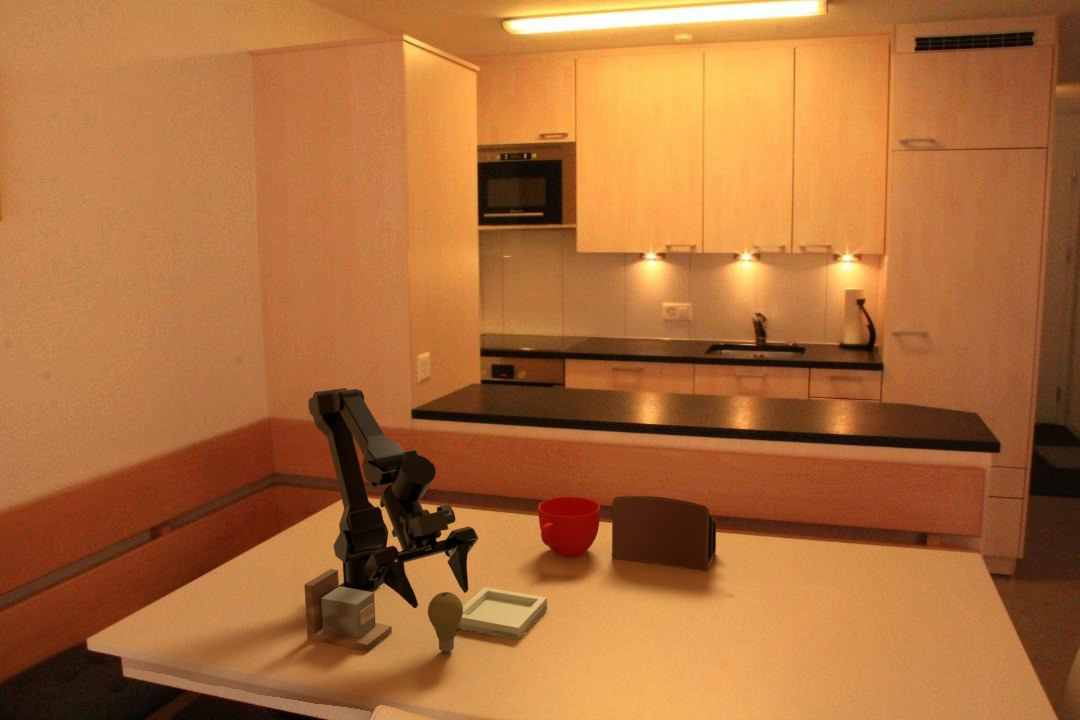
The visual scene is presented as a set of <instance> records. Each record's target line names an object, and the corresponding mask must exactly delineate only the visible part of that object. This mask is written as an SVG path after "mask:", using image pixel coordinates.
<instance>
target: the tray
mask: <svg viewBox="0 0 1080 720" xmlns="http://www.w3.org/2000/svg"><path fill="white" fill-rule="evenodd" d="M462 606H463V614H462V618H461V620H460V623H459V625H458V627H457V628H461V629H460V630H462V629H465V630H464V631H467V630H472V631H476V632H475V633H478V632H480V633H479V634H483V633H485V634H484V635H488V634H489V636H493V635H495V636H494V637H499V636H500V638H504V637H506V639H509V638H510V639H511V640H515V641H520V640H521V638H522V637H523V636H525V634H526V633H527V632H528V631H529V630H530V629H531V627H532V626H533V625H534V624H535V623H536V622H537V621H538V620H539V619H540V618H541V617H542V616H543V614H544V613H545V612H546V611H547V610H548V597H547V596H540V595H534V594H527V593H522V592H516V591H509V590H504V589H498V588H493V587H492V588H491V587H483V588H482V589H481V590H480V591H478V593H477V594H475V595H474V596H473V597H472V598H471V599H469V601H467V602H465V604H464V605H462ZM546 609H547V610H546ZM545 610H546V611H545ZM544 611H545V612H544ZM543 612H544V613H543ZM542 613H543V614H542ZM540 616H541V617H540ZM539 617H540V618H539ZM538 618H539V619H538ZM537 619H538V620H537ZM536 620H537V621H536ZM535 621H536V622H535ZM534 622H535V623H534ZM533 623H534V624H533ZM532 624H533V625H532ZM530 626H531V627H530ZM529 628H530V629H529ZM528 629H529V630H528ZM527 630H528V631H527ZM472 631H471V632H472ZM526 631H527V632H526ZM525 632H526V633H525ZM524 633H525V634H524ZM519 639H520V640H519Z"/></svg>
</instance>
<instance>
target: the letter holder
mask: <svg viewBox="0 0 1080 720" xmlns="http://www.w3.org/2000/svg"><path fill="white" fill-rule="evenodd" d="M611 503H612V504H611V505H612V506H611V507H612V509H611V510H612V511H611V512H612V513H611V514H612V516H611V517H612V518H611V519H612V520H611V522H612V524H611V525H612V528H611V529H612V530H611V559H613V560H621V561H628V562H637V563H644V564H652V565H660V566H666V567H672V568H673V567H674V568H682V569H687V570H695V571H696V570H697V571H704V572H708V570H709V569H710V567H711V564H712V562H713V559H714V558H715V555H716V553H717V550H716V549H717V522H716V519H715V518H714V517H713V516H712V514H710V509H709V508H708V507H707V506H706V505H703V504H701V503H696V502H692V501H688V500H682V499H677V498H676V499H675V498H668V497H664V496H663V497H662V496H654V495H653V496H652V495H651V496H650V495H627V496H626V495H623V496H615V497H614V498H613V500H612V502H611Z"/></svg>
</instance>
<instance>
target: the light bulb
mask: <svg viewBox="0 0 1080 720" xmlns="http://www.w3.org/2000/svg"><path fill="white" fill-rule="evenodd" d="M463 606H464V605H463V603H462V601H461V599H460V598H459V597H458V596H457V595H456V594H454V593H452V592H449V591H444V592H440V593H437V594H436V595H435V596H433V597H432V598H431V600H430V602H429V604H428V606H427V617H428V619H429V621H430V623H431V625H432V627H433V628H434V631H435V633H436V638H437V639H438V650H439V651H441V652H442V653H444V654H449V653H451V651H453V650H455V649H454V648H455V637H456V635H457V630H458V629H457V627H458V625H459V623H460V620H461V618H462V614H463Z"/></svg>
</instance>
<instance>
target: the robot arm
mask: <svg viewBox="0 0 1080 720" xmlns="http://www.w3.org/2000/svg"><path fill="white" fill-rule="evenodd" d="M307 406H308V410H309V413H310V414H309V415H311V416H312V418H313V421H314V425H315V426H316V428H317V429H318V430H319V431H320V432H321V433H322V434H324V436H326V438H327V442H328V447H329V451H330V455H331V460H332V463H333V467H334V471H335V472H334V473H335V476H336V481H337V484H338V489H339V493H340V496H341V497H340V498H341V501H342V505H343V512H342V515H341V517H340V520H339V524H338V527H339V534H338V535H337V538H336V540H335V542H334V543H333V550H334V551H333V552H334V556H335V557H336V558H338V559H339V560H340V561H341V562H342V574H343V582H342V583H341V584H340V583H339V586H341V587H346V588H352V589H357V590H363V591H368V592H372V591H373V590H374V589H375V588H377V587H378V586H380V585H381V584H385V585H386V586H387V587H389V588H390V589H392V590H393V591H394V592H396V593H397V594H398V595H399V597H401V598H403V600H405V601H406V603H408V604H409V605H410V606H411V607H412V608H413V609H416V608H418V607H419V602H418V600H417V595H416V593H415V592H414V589H413V587H412V585H411V583H410V581H409V578H408V577H407V573H406V569H405V563H409V562H412V561H415V560H420V559H423V558H426V557H431V556H435V555H438V554H441V553H444V555H445V556H446V557H448V558H449V559H448V560H447V564H448V566H449V567H450V570H451V572H452V574H453V576H454V578H455V580H456V581H457V582H456V583H457V584H458V585H459V587H460V589H461V590H462V592H463V593H464V594H466V593H468V591H469V579H468V576H469V575H468V554H469V552H470V551H471V550H472V549H473V547H474V546H475V544H476V543H477V542H478V541H479V536H478V534H477V532H476V530H475V529H474V528H473V527H471V526H469V525H468V526H465V527H461V528H457V529H453V530H451V531H450V533H449V535H447V537H446V538H445V539H442V540H439V541H437V539H439V538H440V537H441V536H442V531H448V530H449V526H448V525H451V524H454V523H455V522H456V515H455V511H454V510H453V507H452V506H451V504H450V503H447V504H442V505H440V506H437V507H436V511H435V512H430V511H429V510H428V509H427V508H426V509H424V508H423V506H422V503H421V501H420V500H421V499H423V497H424V496H425V494H426V493H427V491H428V489H429V487H430V485H431V484H432V482H433V480H434V479H435V478H436V474H437V471H436V466H435V464H434V463H432V462H431V460H429V459H428V458H426V457H425V456H423V455H419V454H418V452H417V451H416V449H413V450H406V451H405V450H404V449H403V447H401V445H400V443H398V442H396V441H394V440H391V439H389V438H388V437H387V436H386V434H385V433H384V432H383V430H382V428H381V426H380V425H379V423H378V421H377V420H376V418H375V416H374V415H373V413H372V411H371V410H370V408H369V407H368V405H367V404H366V401H365V396H364V392H363V391H362V389H357V388H351V389H348V388H346V387H341V388H334V389H326V390H318V391H315V392H313V394H312V397H310V398H309V399H308V405H307ZM355 441H356V443H355ZM355 444H356V445H358V447H359V450H360V451H361V454H362V455H363V459H362V465H361V464H360V460H359V456H358V452H357V448H356V445H355ZM362 470H363V471H362ZM363 475H364V476H363ZM364 478H365V480H366V482H367V483H368V484H369V485H370V486H371V487H373V488H374V487H375V488H377V487H382V486H387V487H386V488H385V489H384V490H383V491H382V493H381V494H382V495H381V499H380V500H379V506H374V505H373V503H372V502H370V500H369V497H368V493H367V488H366V485H365V480H364ZM381 508H384V509H385V510H386V514H387V515H388V518H389V521H390V524H391V525H392V528H393V529H392V531H391V535H392V538H397V540H398V543H399V545H400V547H401V550H400V551H399V549H398V547H396V546H394V545H389V546H388V541H389V540H388V538H389V530H388V527H387V525H386V523H385V521H384V517H383V511H382V509H381Z"/></svg>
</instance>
